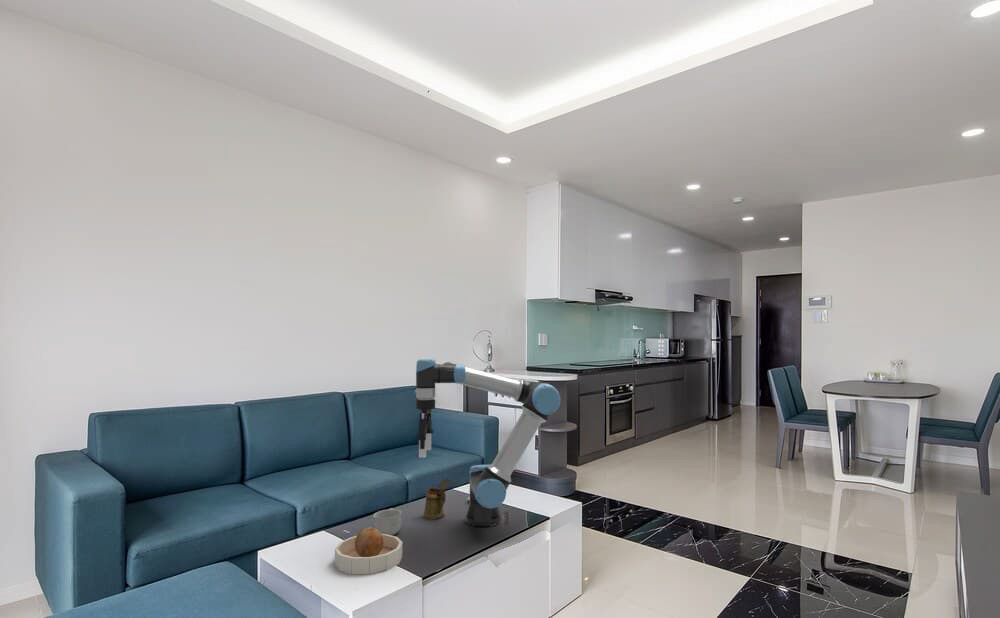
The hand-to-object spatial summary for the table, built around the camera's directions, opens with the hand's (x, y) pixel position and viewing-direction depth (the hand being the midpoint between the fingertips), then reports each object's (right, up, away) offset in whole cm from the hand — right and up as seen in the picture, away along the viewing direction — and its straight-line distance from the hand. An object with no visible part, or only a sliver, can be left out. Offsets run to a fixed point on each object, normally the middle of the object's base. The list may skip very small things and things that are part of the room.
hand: (425, 453), depth 207 cm
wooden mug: (+2, -33, +21) cm, 39 cm away
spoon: (+23, -36, +54) cm, 69 cm away
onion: (-16, -30, -24) cm, 41 cm away
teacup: (-15, -32, +3) cm, 36 cm away
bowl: (-16, -30, -24) cm, 42 cm away
